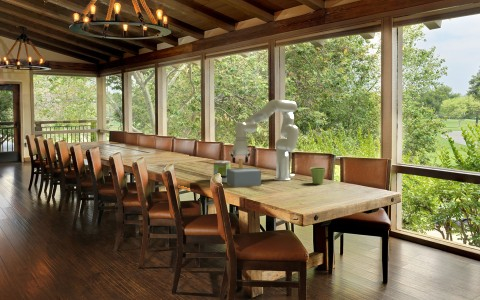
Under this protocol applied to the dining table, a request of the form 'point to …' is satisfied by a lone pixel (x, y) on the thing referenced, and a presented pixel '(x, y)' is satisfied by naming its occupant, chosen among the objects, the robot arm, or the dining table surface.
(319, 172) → the plant pot
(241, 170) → the lid flap
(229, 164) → the tea box
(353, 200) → the dining table surface
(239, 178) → the slate box
